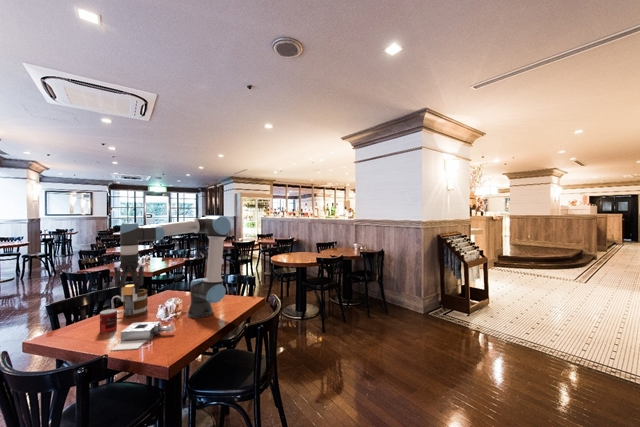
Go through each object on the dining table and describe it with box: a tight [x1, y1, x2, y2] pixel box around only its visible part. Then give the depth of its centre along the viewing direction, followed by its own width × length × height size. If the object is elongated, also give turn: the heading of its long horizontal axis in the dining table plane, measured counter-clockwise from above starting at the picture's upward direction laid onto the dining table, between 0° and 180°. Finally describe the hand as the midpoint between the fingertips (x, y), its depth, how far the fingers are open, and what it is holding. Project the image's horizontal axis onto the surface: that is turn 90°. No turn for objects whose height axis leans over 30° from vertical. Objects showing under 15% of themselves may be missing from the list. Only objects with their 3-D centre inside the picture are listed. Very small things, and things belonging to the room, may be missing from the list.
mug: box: [110, 288, 148, 319], centre depth 180 cm, size 20×14×15 cm
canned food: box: [99, 308, 118, 334], centre depth 156 cm, size 8×8×11 cm
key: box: [121, 284, 134, 315], centre depth 138 cm, size 4×4×14 cm
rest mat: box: [110, 340, 148, 352], centre depth 138 cm, size 12×9×1 cm
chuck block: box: [120, 321, 174, 342], centre depth 150 cm, size 23×12×6 cm, turn 98°
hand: (129, 300), depth 138 cm, fingers closed on key, 4 cm apart
